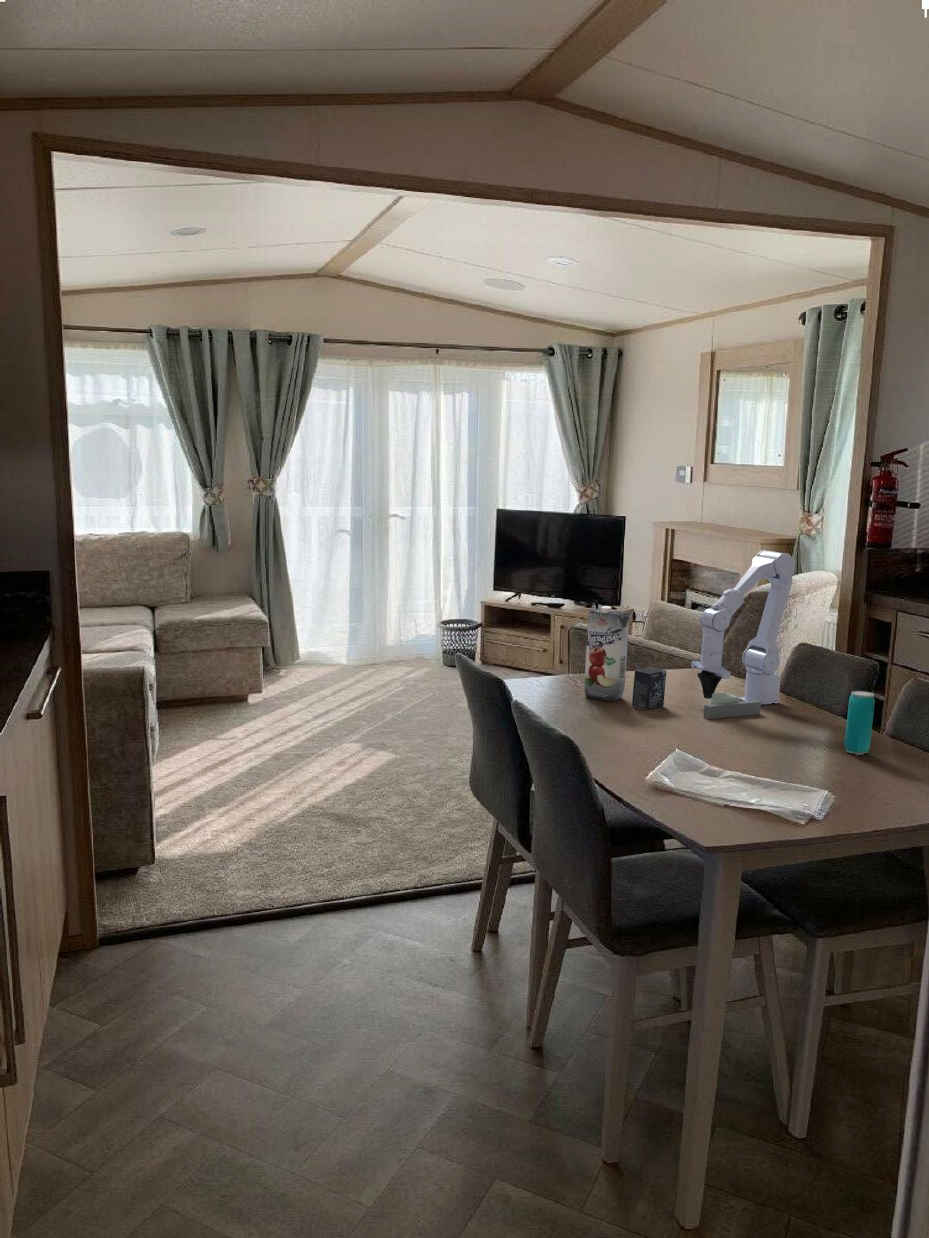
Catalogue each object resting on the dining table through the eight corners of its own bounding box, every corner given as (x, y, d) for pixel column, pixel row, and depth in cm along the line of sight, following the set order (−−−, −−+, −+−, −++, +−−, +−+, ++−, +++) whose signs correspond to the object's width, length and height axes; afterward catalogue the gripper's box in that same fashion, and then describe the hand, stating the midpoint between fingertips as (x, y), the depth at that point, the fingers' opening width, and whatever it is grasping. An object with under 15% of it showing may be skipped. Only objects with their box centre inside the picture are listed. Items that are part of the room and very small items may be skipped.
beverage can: (868, 751, 243) (874, 692, 241) (869, 757, 238) (876, 697, 235) (843, 748, 245) (849, 689, 243) (844, 754, 240) (850, 694, 237)
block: (724, 709, 278) (726, 692, 278) (736, 714, 274) (738, 696, 273) (710, 711, 276) (712, 693, 275) (722, 715, 272) (723, 698, 271)
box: (647, 710, 274) (650, 673, 272) (631, 706, 278) (633, 669, 276) (664, 706, 279) (667, 669, 278) (647, 702, 283) (650, 666, 282)
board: (755, 712, 277) (756, 700, 276) (759, 714, 275) (761, 701, 274) (703, 717, 269) (704, 704, 269) (708, 719, 267) (709, 706, 267)
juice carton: (594, 691, 293) (600, 602, 288) (626, 698, 287) (633, 606, 282) (580, 697, 286) (585, 605, 281) (612, 703, 280) (618, 609, 275)
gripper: (684, 646, 283) (680, 692, 286) (717, 657, 271) (713, 705, 273) (704, 645, 286) (700, 691, 289) (737, 655, 274) (733, 703, 276)
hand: (708, 697), depth 281 cm, fingers closed
